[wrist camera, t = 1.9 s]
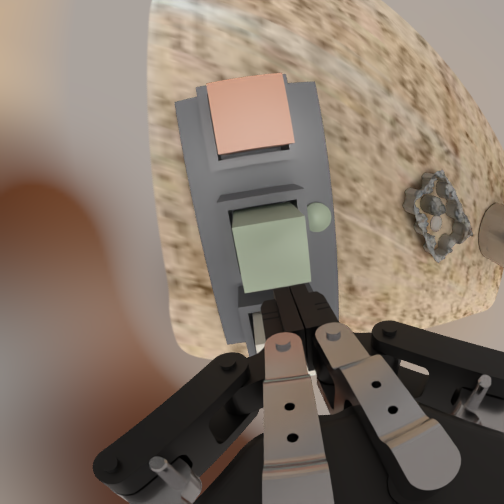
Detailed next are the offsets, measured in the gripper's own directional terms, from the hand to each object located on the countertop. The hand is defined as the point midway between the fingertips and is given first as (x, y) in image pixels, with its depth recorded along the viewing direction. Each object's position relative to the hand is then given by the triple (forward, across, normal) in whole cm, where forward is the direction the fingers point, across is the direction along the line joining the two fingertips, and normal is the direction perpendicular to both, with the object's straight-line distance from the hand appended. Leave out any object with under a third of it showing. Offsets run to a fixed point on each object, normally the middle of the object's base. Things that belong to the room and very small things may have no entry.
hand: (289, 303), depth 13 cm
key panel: (+17, -1, 0) cm, 17 cm away
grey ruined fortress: (+18, -22, +2) cm, 28 cm away
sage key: (+13, 0, 0) cm, 13 cm away
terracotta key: (+13, 0, -10) cm, 16 cm away
